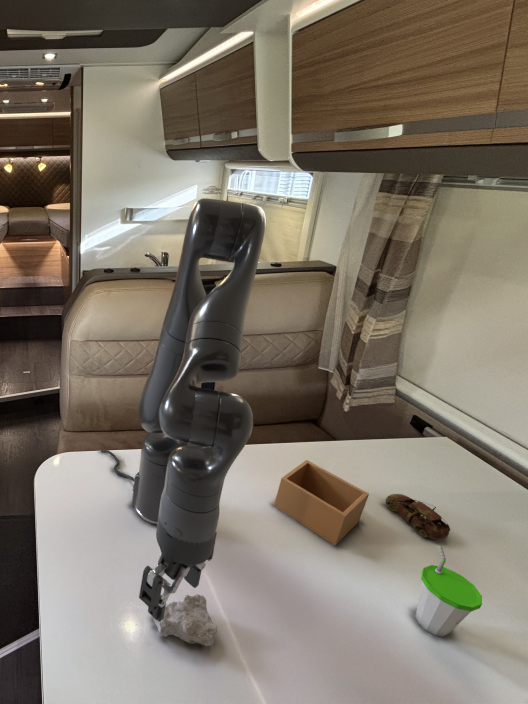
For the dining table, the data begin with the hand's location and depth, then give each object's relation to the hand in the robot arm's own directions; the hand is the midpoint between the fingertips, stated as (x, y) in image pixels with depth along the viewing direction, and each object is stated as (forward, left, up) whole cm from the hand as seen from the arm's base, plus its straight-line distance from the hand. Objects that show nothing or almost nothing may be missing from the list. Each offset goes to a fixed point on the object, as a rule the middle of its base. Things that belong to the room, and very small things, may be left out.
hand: (173, 598), depth 64 cm
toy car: (+26, +70, -19) cm, 77 cm away
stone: (-1, +9, -19) cm, 21 cm away
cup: (+31, +42, -19) cm, 56 cm away
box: (+9, +56, -18) cm, 60 cm away
